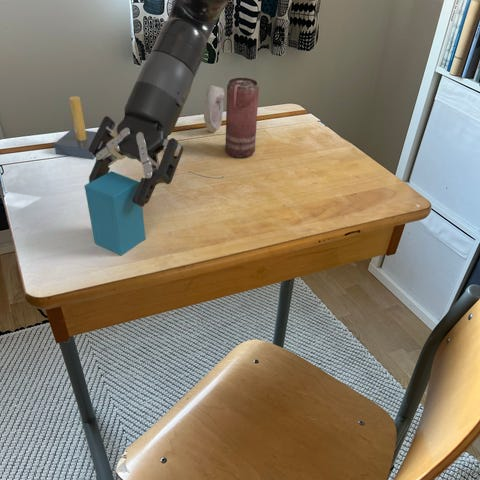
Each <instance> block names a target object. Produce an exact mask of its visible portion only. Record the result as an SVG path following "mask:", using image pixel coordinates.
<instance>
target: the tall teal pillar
mask: <svg viewBox="0 0 480 480" xmlns="http://www.w3.org/2000/svg"><path fill="white" fill-rule="evenodd" d="M139 183H140V181H139V180H137V179H136V180H135V179H134V178H130V177H129V176H126V175H123V174H120V173H117V172H116V171H112V170H111V171H109V172H108V173H107V174H105V175H103V176H101V177H99V178H97V179H96V180H94V181H92V182H90V183H89V182H88V183H86V184H84V191H85V197H86V202H87V207H88V213H89V219H90V225H91V230H92V236H93V241H94V244H95V245H97V246H100V247H102V248H104V249H106V250H108V251H109V252H112V253H114V254H116V255H118V256H123V255H125V254H126V253H128V252H129V251H131V250H132V249H134V248H135V247H136V246H138V245H139V244H141V243H142V242H144V241H145V240H146V232H145V221H144V209H143V207H141V206H139V205H137V204H135V203H134V202H133V197H134V195H135V192H136V190H137V188H138V186H139Z"/></svg>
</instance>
